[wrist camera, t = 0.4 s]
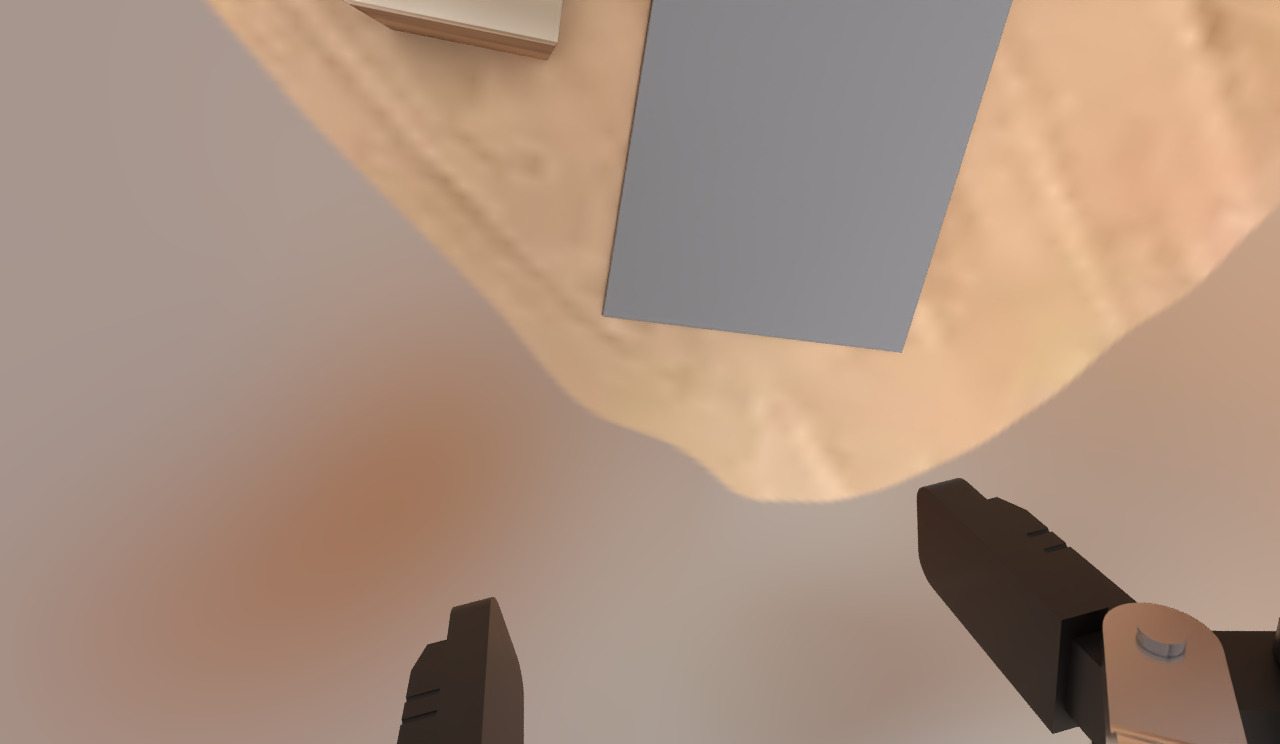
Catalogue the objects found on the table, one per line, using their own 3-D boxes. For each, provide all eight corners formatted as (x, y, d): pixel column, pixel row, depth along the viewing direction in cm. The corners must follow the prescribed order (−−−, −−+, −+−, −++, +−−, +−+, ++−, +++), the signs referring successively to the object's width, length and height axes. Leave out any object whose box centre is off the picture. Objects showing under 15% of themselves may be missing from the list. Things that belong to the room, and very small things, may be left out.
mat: (669, -114, 31) (671, -116, 30) (1015, -24, 34) (1020, -25, 34) (602, 314, 37) (603, 316, 37) (898, 350, 41) (901, 352, 41)
